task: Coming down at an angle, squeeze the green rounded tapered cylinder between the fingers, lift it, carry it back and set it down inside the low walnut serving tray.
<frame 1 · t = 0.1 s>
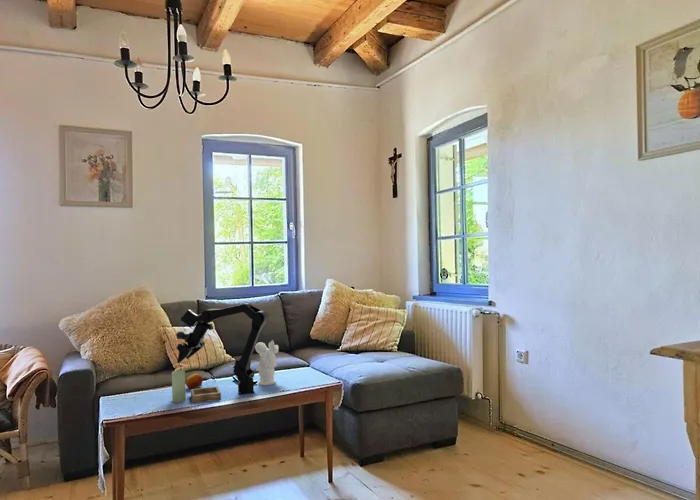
hand: (182, 360, 244), 15 cm above the table, tool tilted 35°, fingers open, 9 cm apart
cherub figurine: (270, 382, 257), on the table
green rounded tapered cylinder: (179, 400, 229), on the table
tray: (205, 397, 233), on the table
fruit: (194, 388, 251), on the table
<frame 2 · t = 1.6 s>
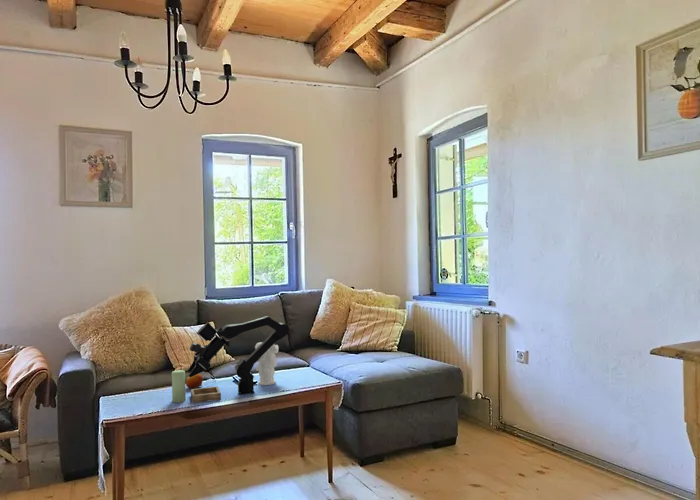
hand: (188, 374, 231), 11 cm above the table, tool tilted 45°, fingers open, 9 cm apart
nothing on the table moved.
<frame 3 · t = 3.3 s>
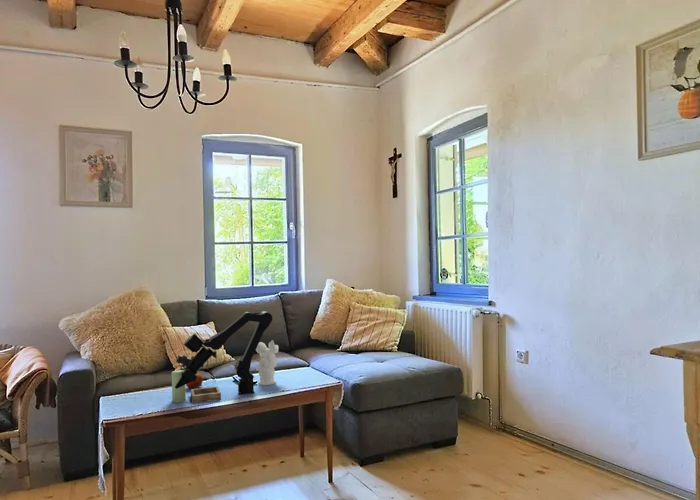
hand: (175, 386, 229), 7 cm above the table, tool tilted 45°, fingers closed on green rounded tapered cylinder, 6 cm apart
green rounded tapered cylinder: (179, 400, 229), on the table, touching gripper
everything else where it was.
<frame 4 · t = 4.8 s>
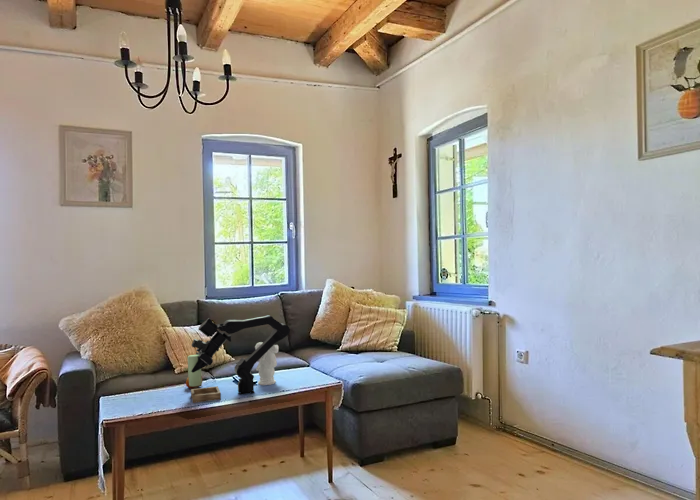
hand: (191, 370, 231), 13 cm above the table, tool tilted 45°, fingers closed on green rounded tapered cylinder, 6 cm apart
green rounded tapered cylinder: (195, 384, 232), point 6 cm above the table, touching gripper
everything else where it was.
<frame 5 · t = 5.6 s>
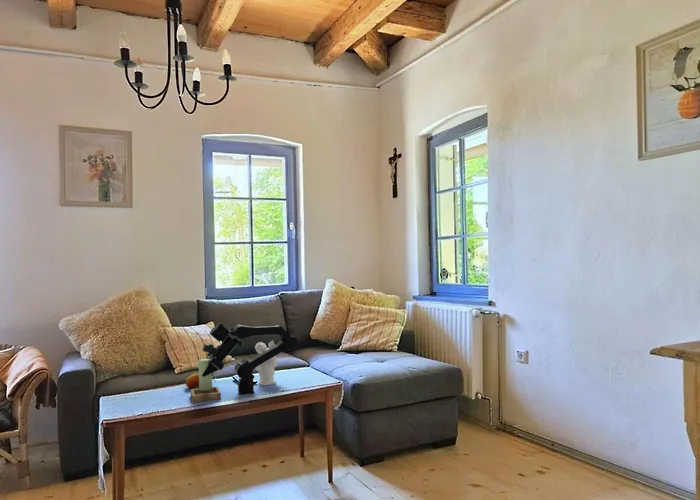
hand: (202, 374, 232), 11 cm above the table, tool tilted 45°, fingers closed on green rounded tapered cylinder, 6 cm apart
green rounded tapered cylinder: (205, 388, 233), point 4 cm above the table, touching gripper
everything else where it was.
when the fingers open (9 cm above the table, at t = 6.2 s): green rounded tapered cylinder drops 2 cm, resting on tray.
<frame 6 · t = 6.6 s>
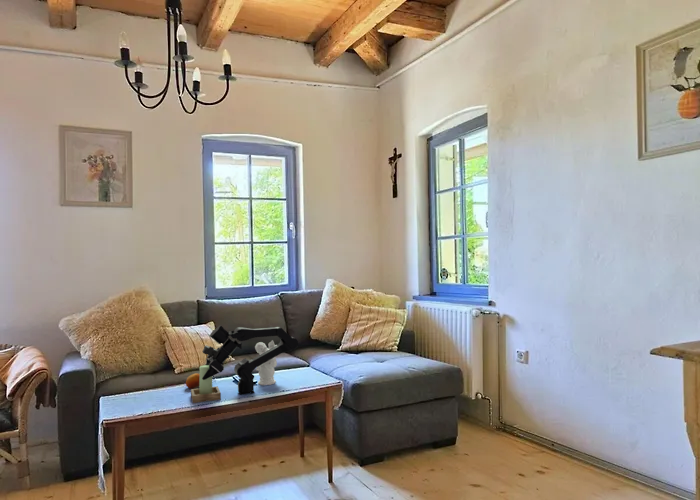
hand: (202, 377, 232), 10 cm above the table, tool tilted 45°, fingers open, 9 cm apart
green rounded tapered cylinder: (205, 395, 233), point 1 cm above the table, touching tray
everything else where it was.
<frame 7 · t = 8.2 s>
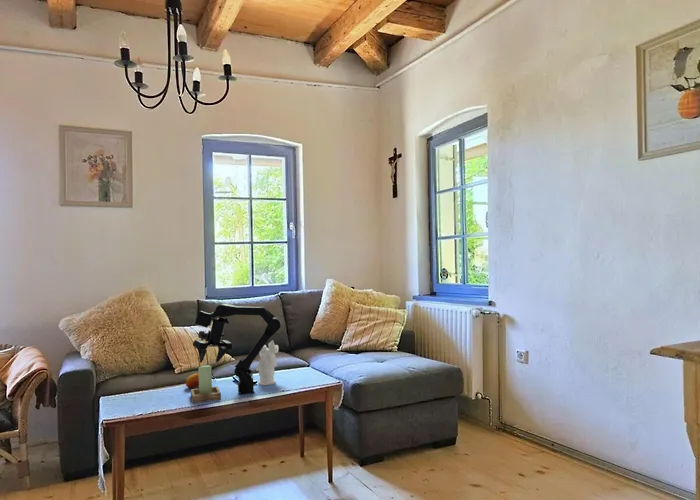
hand: (208, 362, 240), 15 cm above the table, tool tilted 15°, fingers open, 9 cm apart
nothing on the table moved.
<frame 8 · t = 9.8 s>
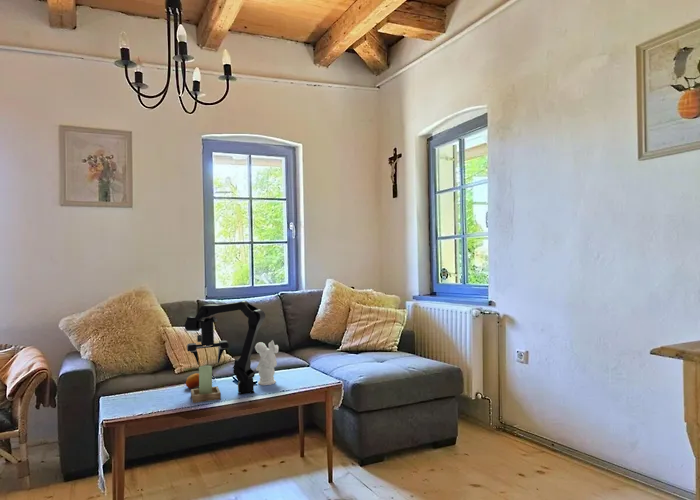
hand: (208, 363, 244), 13 cm above the table, tool pointing down, fingers open, 9 cm apart
nothing on the table moved.
at the end: green rounded tapered cylinder inside the target area on the tray (0.1 cm from its centre), point 1.0 cm above the tray's base; the gripper is holding nothing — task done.
